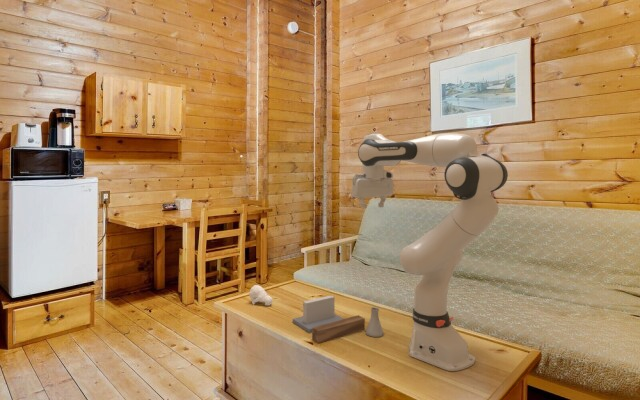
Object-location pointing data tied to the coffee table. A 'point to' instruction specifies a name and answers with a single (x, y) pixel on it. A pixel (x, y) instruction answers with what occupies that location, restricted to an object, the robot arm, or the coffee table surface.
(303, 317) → the stand
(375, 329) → the flask
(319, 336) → the walnut stick
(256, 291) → the white animal figurine
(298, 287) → the coffee table surface
